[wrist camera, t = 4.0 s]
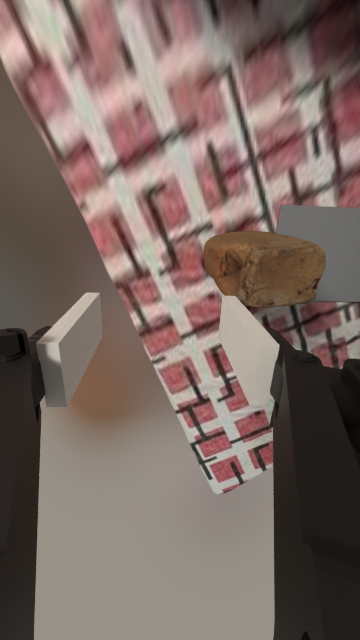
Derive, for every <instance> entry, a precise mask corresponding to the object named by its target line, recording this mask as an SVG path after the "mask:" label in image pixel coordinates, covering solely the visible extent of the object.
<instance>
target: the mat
mask: <svg viewBox="0 0 360 640" xmlns="http://www.w3.org/2000/svg"><path fill="white" fill-rule="evenodd" d="M276 234H282V235H287V236H291V237H296V238H299V239H303V240H307V241H310V242H313V243H315V244H317V245H319V246H321V247H322V248H323V249H324V250H325V253H326V266H325V269H324V272H323V275H322V278H321V279H320V281H319V283H318V289H317V295H316V298H315V299H314V300H312V301H340V302H360V208H339V207H318V206H296V205H280V212H279V218H278V224H277V230H276Z"/></svg>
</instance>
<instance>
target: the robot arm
mask: <svg viewBox="0 0 360 640" xmlns="http://www.w3.org/2000/svg"><path fill="white" fill-rule="evenodd" d="M102 336H103V334H102V320H101V307H100V294H99V293H86V294H84V295H83V296H82V297H81V298H80V300H78V302H77V303H76V304H75V305H74V306H73V307H72V308H71V309H70V310H69V311H68V312H67V313H66V314H65V315H64V316H63V317H62V318H61V319H60V320H59V321H58V322H57V323H56V324H55V325H54V326H46V327H44V328H41V329H39V330H37V331H36V332H35V333H34V334H33V335H32V336H31V337H30V338H29V339H28V338H27V333H26V331H25V330H23V329H19V328H7V329H2V330H0V640H34V610H35V581H36V551H37V524H38V523H37V522H38V494H39V465H40V464H39V462H40V435H41V408H40V401H41V399H42V398H43V397H44V395H45V399H46V405H47V407H67V406H68V404H69V402H70V400H71V398H72V396H73V394H74V392H75V390H76V388H77V386H78V384H79V382H80V380H81V378H82V376H83V374H84V372H85V370H86V368H87V366H88V364H89V362H90V360H91V358H92V356H93V354H94V352H95V350H96V348H97V346H98V344H99V342H100V340H101V338H102ZM219 339H220V341H221V344H222V346H223V348H224V350H225V352H226V355H227V357H228V359H229V361H230V363H231V366H232V368H233V370H234V372H235V374H236V376H237V379H238V381H239V383H240V385H241V387H242V390H243V392H244V394H245V396H246V398H247V400H248V403H249V405H250V406H262V405H268V403H269V398H270V393H271V395H272V396H273V398H274V400H275V402H274V407H273V412H272V417H271V422H270V426H273V467H274V468H273V473H274V585H275V625H274V638H273V640H360V359H347V360H345V362H344V364H343V368H342V369H336V368H330V367H325V366H323V365H322V362H321V360H320V359H319V358H318V357H317V356H315V355H313V354H311V353H308V352H305V351H300V350H295V349H294V348H293V347H292V345H291V344H290V343H289V342H287V340H286V339H285V338H283V336H282V335H281V334H280V333H279V332H277V331H275V330H273V329H271V328H264V327H263V326H262V325H261V324H260V323H259V322H258V321H257V320H256V319H255V317H254V316H253V315H252V314H251V313H250V312H249V311H248V310H247V309H246V307H245V306H244V305H243V304H242V303H241V302H240V301H239V300H238V299H237V297H236V296H223V298H222V308H221V318H220V327H219Z"/></svg>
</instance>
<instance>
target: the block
mask: <svg viewBox="0 0 360 640" xmlns="http://www.w3.org/2000/svg"><path fill="white" fill-rule="evenodd" d="M204 262H205V267H206V270H207V272H208V274H209V275H210V276H211V277H212V278H214V281H215V283H216V285H217V287H218V288H219V289H220V291H221V292H222V293H223V294H224V295H225V296H236V297H237V299H238V300H239V301H240V302H241V303H242V304H244V305H247V306H251V307H274V306H291V305H296V304H304V303H308V302H310V301H312V300H314V299H315V298H316V295H317V289H318V283H319V281H320V279H321V278H322V275H323V272H324V269H325V266H326V253H325V250H324V249H323V248H322V247H321V246H319V245H317V244H315V243H313V242H310V241H307V240H303V239H299V238H296V237H291V236H287V235H282V234H276V233H270V232H259V231H242V232H231V233H226V234H221V235H218V236H214V237H212V238H210V239H209V240H208V241H207V242H206V244H205V246H204Z"/></svg>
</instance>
